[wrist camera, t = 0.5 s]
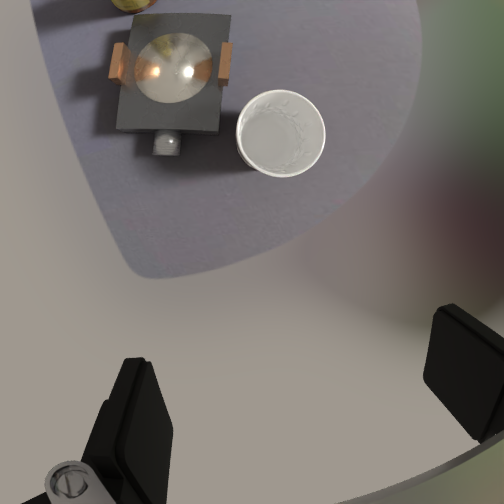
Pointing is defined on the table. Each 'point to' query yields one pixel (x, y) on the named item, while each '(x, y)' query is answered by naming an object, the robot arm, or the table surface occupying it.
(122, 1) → the sauce bottle
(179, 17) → the block
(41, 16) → the table surface
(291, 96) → the white cup
